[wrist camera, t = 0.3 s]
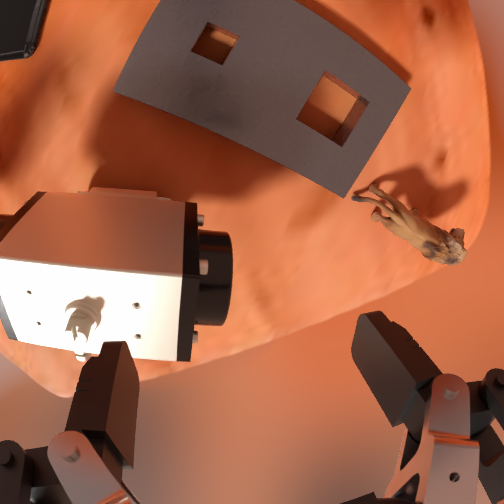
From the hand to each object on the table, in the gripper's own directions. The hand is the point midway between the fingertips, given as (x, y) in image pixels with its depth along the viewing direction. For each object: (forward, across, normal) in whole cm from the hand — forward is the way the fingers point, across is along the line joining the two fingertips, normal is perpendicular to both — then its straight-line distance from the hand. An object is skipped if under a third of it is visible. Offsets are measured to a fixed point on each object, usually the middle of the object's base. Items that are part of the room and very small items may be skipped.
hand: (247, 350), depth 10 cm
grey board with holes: (+21, -6, -11) cm, 24 cm away
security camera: (+23, +9, +1) cm, 24 cm away
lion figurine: (+23, -23, +3) cm, 32 cm away
